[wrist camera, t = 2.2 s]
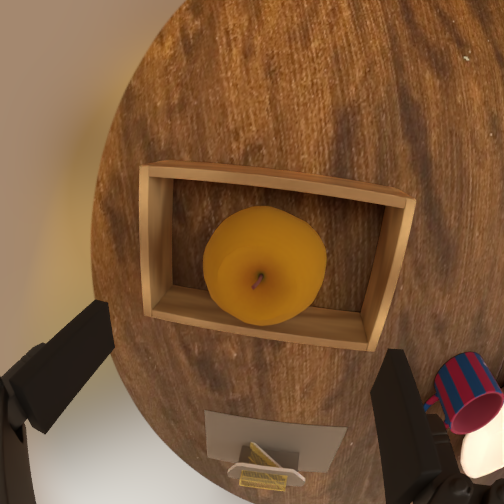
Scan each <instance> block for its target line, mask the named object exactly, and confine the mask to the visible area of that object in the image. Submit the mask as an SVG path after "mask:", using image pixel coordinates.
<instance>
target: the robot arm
mask: <svg viewBox="0 0 504 504" xmlns="http://www.w3.org/2000/svg"><path fill="white" fill-rule="evenodd" d="M114 348H115V345H114V340H113V334H112V327H111V321H110V314H109V307H108V303H107V302H103V301H99V300H96V299H95V300H94V301H93V302H92V303H91V304H90V305H89V306H87V307H86V308H85V309H84V310H83V311H82V312H81V313H79V314H78V315H77V316H76V317H75V318H74V319H73V320H72V321H71V322H70V323H68V324H67V325H66V326H65V327H64V328H63V329H62V330H61V331H59V332H58V333H57V334H56V335H55V336H54V337H53V338H52V339H51V340H50V341H49V342H47V343H46V344H45V343H41V344H39V345H37V346H35V347H33V348H32V349H31V350H30V351H29V352H27V353H26V355H24V356H23V357H22V358H21V360H19V361H18V362H17V363H16V364H15V365H13V366H12V367H11V368H10V369H9V370H8V371H7V372H6V373H5V374H4V375H3V376H2V377H0V504H36V501H35V495H34V490H33V484H32V478H31V472H30V464H29V456H28V448H27V447H28V446H27V435H26V427H25V424H24V422H25V421H26V419H27V418H28V420H29V422H30V424H31V425H32V427H33V428H35V429H37V430H38V431H40V432H42V433H44V434H46V433H47V432H48V431H49V429H50V428H51V427H52V425H53V424H54V423H55V421H56V420H57V419H58V417H59V416H60V415H61V414H62V412H63V411H64V410H65V409H66V407H67V406H68V405H69V403H70V402H71V401H72V400H73V398H74V397H75V396H76V395H77V393H78V392H79V391H80V390H81V388H82V387H83V386H84V385H85V383H86V382H87V381H88V380H89V379H90V377H91V376H92V375H93V374H94V372H95V371H96V370H97V369H98V367H99V366H100V365H101V364H102V363H103V361H104V360H105V359H106V358H107V356H108V355H109V354H110V353H111V352H112V350H113V349H114ZM370 394H371V400H372V405H373V411H374V417H375V423H376V429H377V435H378V442H379V449H380V456H381V463H382V471H383V479H384V488H385V497H386V504H410V503H411V502H412V501H413V504H504V479H502V478H501V479H498V480H496V481H495V482H494V483H493V484H492V485H491V486H487V485H479V484H473V483H472V481H471V479H470V478H469V477H468V476H466V475H465V474H462V473H460V471H459V468H458V464H457V461H456V458H455V455H454V451H453V448H452V445H451V443H450V439H449V436H448V435H447V430H446V427H445V424H444V422H443V421H442V420H441V419H440V417H439V416H438V415H437V414H426V412H425V409H424V406H423V403H422V400H421V397H420V394H419V391H418V389H417V386H416V383H415V380H414V377H413V374H412V372H411V369H410V366H409V364H408V361H407V358H406V356H405V353H404V350H401V349H388V350H387V353H386V355H385V358H384V360H383V363H382V366H381V368H380V370H379V373H378V375H377V378H376V380H375V382H374V385H373V387H372V389H371V392H370Z"/></svg>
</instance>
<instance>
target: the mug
mask: <svg viewBox="0 0 504 504" xmlns="http://www.w3.org/2000/svg"><path fill="white" fill-rule="evenodd" d="M434 386H435V390H436V393H435V394H434V395H433V396H432V397H431V398H429V399H428V400H427V401H426V402H425V404H424V405H423V406H424V409H425V412H426V411H427V409H428V408H429V407H430V406H431V405H432V404H434V403H435V402H436V401H438V400H440V403H441V406H442V408H443V411H444V414H445V420H444V424H445V427H446V429H447V428H448V427H450V430H451V431H452V432H453V433H454V434H460V435H462V434H468V433H471V432H474V431H476V430H478V429H480V428H482V427H484V426H485V425H486V424H488V423H489V422H490V421H491V420H492V419H494V418H495V416H496V415H497V414H498V413H499V411H500V410H501V408H502V406H503V404H504V394H503V393H502V391H501V389H500V387H499V385H498V384H497V382H496V380H495V379H494V377H493V375H492V373H491V372H490V370H489V368H488V367H487V365H486V363H485V362H484V360H483V359H482V357H481V356H480V355H479V354H477V353H474V352H466V353H462V354H459V355H457V356H455V357H453V358H452V359H450V360H449V361H448V362H447V363H445V364H444V365H443V367H442V368H441V369H440V370H439V372H438V374H437V376H436V378H435V382H434Z"/></svg>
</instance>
